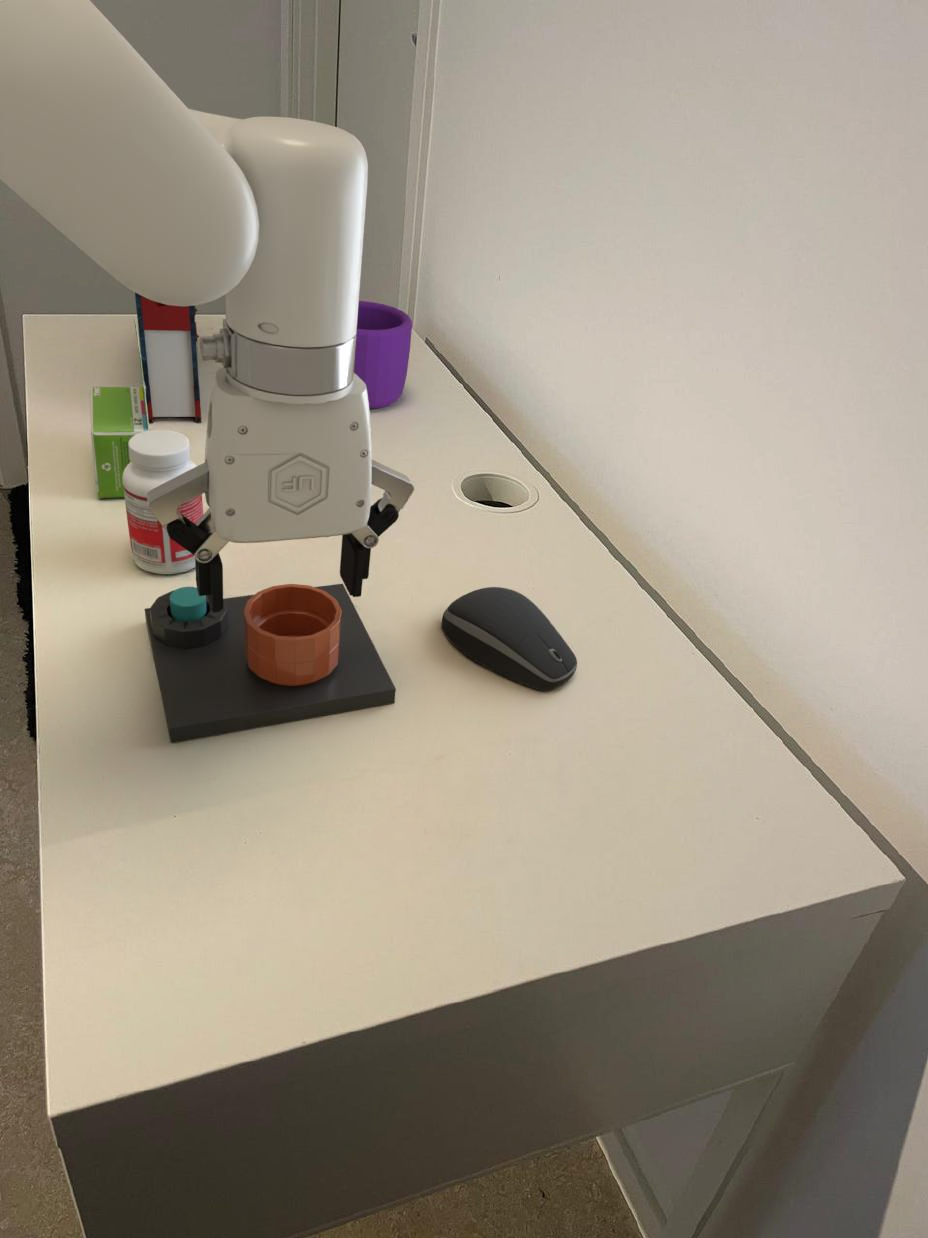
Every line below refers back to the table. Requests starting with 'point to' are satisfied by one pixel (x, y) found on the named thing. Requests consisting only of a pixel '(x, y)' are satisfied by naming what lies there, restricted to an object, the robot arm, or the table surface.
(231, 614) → the scale
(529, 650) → the computer mouse
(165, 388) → the book
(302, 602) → the bowl
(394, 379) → the mug
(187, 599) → the button
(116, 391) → the ink box
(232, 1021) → the table surface
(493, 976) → the table surface
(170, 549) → the pill bottle
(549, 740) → the table surface
